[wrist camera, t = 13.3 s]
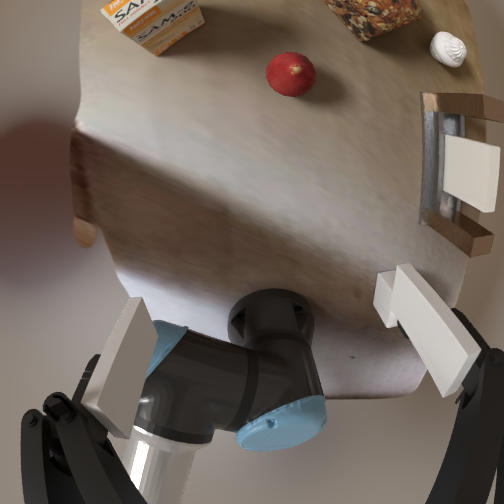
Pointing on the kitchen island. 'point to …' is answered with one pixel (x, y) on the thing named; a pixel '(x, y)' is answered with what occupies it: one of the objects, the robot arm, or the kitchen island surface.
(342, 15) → the bread
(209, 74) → the kitchen island surface
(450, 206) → the wood and metal rack
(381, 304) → the medicine bottle
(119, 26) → the supplement box
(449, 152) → the door panel
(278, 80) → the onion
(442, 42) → the white rounded ridged piece
